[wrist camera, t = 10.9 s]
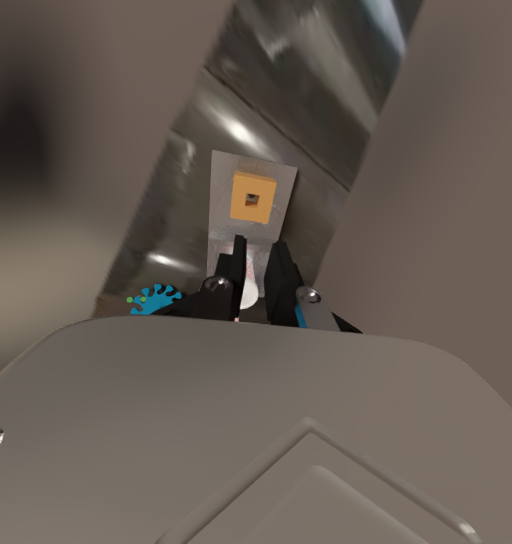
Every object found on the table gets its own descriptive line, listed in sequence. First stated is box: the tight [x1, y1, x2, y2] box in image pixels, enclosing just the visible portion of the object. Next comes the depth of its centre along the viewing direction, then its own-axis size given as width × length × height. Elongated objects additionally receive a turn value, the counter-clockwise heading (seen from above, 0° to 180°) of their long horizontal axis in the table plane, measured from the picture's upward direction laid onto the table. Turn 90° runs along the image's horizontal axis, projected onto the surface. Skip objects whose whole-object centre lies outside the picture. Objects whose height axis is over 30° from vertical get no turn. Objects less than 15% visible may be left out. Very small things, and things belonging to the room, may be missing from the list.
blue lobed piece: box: [127, 284, 182, 315], centre depth 40 cm, size 11×6×10 cm
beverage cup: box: [235, 255, 258, 322], centre depth 30 cm, size 6×6×14 cm
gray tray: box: [207, 149, 298, 297], centre depth 31 cm, size 22×12×4 cm, turn 170°
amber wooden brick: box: [230, 171, 277, 224], centre depth 24 cm, size 5×5×3 cm
